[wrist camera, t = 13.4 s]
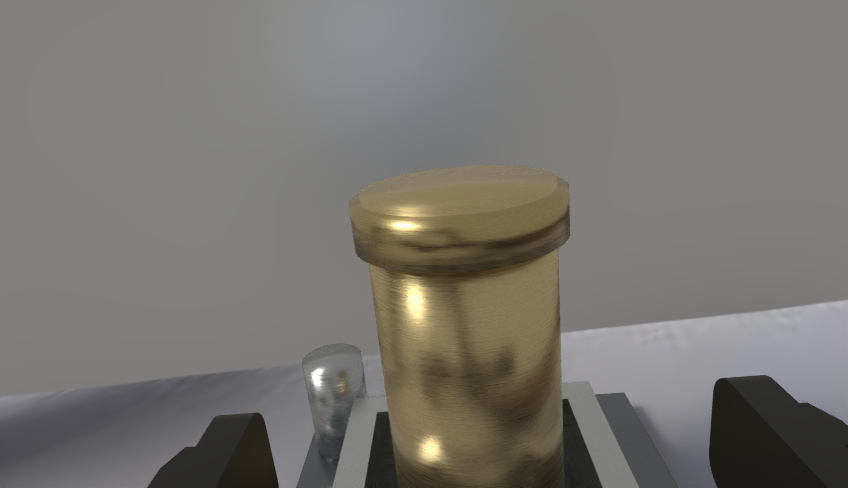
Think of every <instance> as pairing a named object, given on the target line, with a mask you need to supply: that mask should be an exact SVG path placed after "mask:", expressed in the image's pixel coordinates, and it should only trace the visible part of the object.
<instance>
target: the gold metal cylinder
mask: <svg viewBox="0 0 848 488" xmlns="http://www.w3.org/2000/svg"><path fill="white" fill-rule="evenodd" d="M349 211H350V218H351V226H352V233H353V240H354V247H355V253H356V254H357V256H358V257H359V258H360V259H362V260H363V261H365V262H367V263H368V264H369V272H370V279H371V285H372V294H373V301H374V309H375V316H376V323H377V331H378V338H379V346H380V353H381V361H382V368H383V375H384V383H385V390H386V398H387V405H388V413H389V420H390V427H391V435H392V442H393V450H394V457H395V465H396V472H397V479H398V487H399V488H565V485H564V447H563V410H562V372H561V335H560V301H559V300H560V297H559V262H558V261H559V260H558V248H559V247H561V246H562V245H563V244H565V242H566V241H567V240H568V239H569V236H570V206H569V184H568V182H567V181H565V180H564V179H562V178H560V177H557V176H555V175H554V174H553V173H551V172H549V171H546V170H543V169H538V168H532V167H524V166H508V165H483V166H464V167H452V168H442V169H435V170H428V171H422V172H416V173H410V174H405V175H400V176H396V177H392V178H389V179H385V180H382V181H379V182H376V183H374V184H371V185H369V186H367V187H366V188H364V189H363V190H362V191H361V192H360V193H359V194H357V195H356V196H354V197H353V198H352V199H351V200H350V201H349Z"/></svg>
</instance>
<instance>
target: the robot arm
mask: <svg viewBox="0 0 848 488" xmlns="http://www.w3.org/2000/svg"><path fill="white" fill-rule="evenodd" d="M709 460H710V466H711V471H712V474H713V477H714V480H715V483H716V485H717V487H718V488H848V426H847V425H846V424H845V423H844V422H843V421H841V420H839V419H838V418H836V417H834V416H832V415H830V414H828V413H826V412H824V411H822V410H820V409H818V408H816V407H815V406H813V405H811V404H809V403H798V402H797V401H796V400H795V399H794V398H793V397H792V396H791V395H790V394H788V393H787V392H786V391H785V390H784V389H783V388H782V387H781V386H780V385H779V384H778V383H777V382H775V381H774V380H773V379H772V378H771V377H769V376H766V375H759V376H746V377H733V378H721V379H718V380H717V381H716V383H715V386H714V391H713V404H712V418H711V433H710V447H709ZM147 488H279V486H278V480H277V475H276V471H275V466H274V462H273V457H272V453H271V448H270V443H269V439H268V434H267V430H266V425H265V422H264V419H263V417H262V415H261V414H260V413H247V414H234V415H221V416H216V417H215V418H214V419H213V420H212V421H211V423H210V425H209V426H208V428H207V429H206V431H205V433H204V434H203V436H202V437H201V439H200V441H199V442H198V444H197V445H196V446H195V447H185V448H184V449H183V450H182V451H180V452H179V453H178V454H177V455H176V456H175V457H173V458H172V459H171V460H170V461H169V462H167V463H166V464H165V465H164V466H163V467H161V468H160V469H159V471H158V472H157V474H156V475H155V477H154V478H153V480H152V481H151V483H150V484H149V486H148V487H147Z"/></svg>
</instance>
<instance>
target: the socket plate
mask: <svg viewBox="0 0 848 488" xmlns="http://www.w3.org/2000/svg"><path fill="white" fill-rule="evenodd" d="M302 366H303V371H304V376H305V382H306V387H307V392H308V398H309V403H310V408H311V414H312V419H313V424H314V430H315V433H314V436H313V439H312V442H311V445H310V448H309V451H308V454H307V457H306V460H305V463H304V466H303V469H302V472H301V475H300V478H299V481H298V484H297V487H296V488H399V487H398V479H397V472H396V465H395V457H394V450H393V442H392V435H391V427H390V420H389V413H388V405H387V398H386V396H381V397H367V390H366V383H365V377H364V370H363V363H362V357H361V351H360V350H359V349H358V348H357V347H355V346H352V345H349V344H332V345H327V346H323V347H320V348H318V349H316V350H314V351H312V352H311V353H309V354H308V355H307V356H306V357H305V358H304V360H303V362H302ZM562 410H563V447H564V485H565V488H678V486H677V484H676V483H675V481H674V479H673V477H672V476H671V474H670V472H669V470H668V469H667V467H666V465H665V463H664V462H663V460H662V458H661V456H660V455H659V453H658V451H657V449H656V448H655V446H654V444H653V442H652V441H651V439H650V437H649V435H648V434H647V432H646V430H645V428H644V427H643V425H642V423H641V421H640V420H639V418H638V416H637V414H636V413H635V411H634V409H633V407H632V406H631V404H630V402H629V400H628V399H627V397H626V395H625V393H612V394H598V395H595V394H594V392H593V390H592V388H591V386H590V384H589V382H588V381H587V382H573V383H562Z"/></svg>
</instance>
